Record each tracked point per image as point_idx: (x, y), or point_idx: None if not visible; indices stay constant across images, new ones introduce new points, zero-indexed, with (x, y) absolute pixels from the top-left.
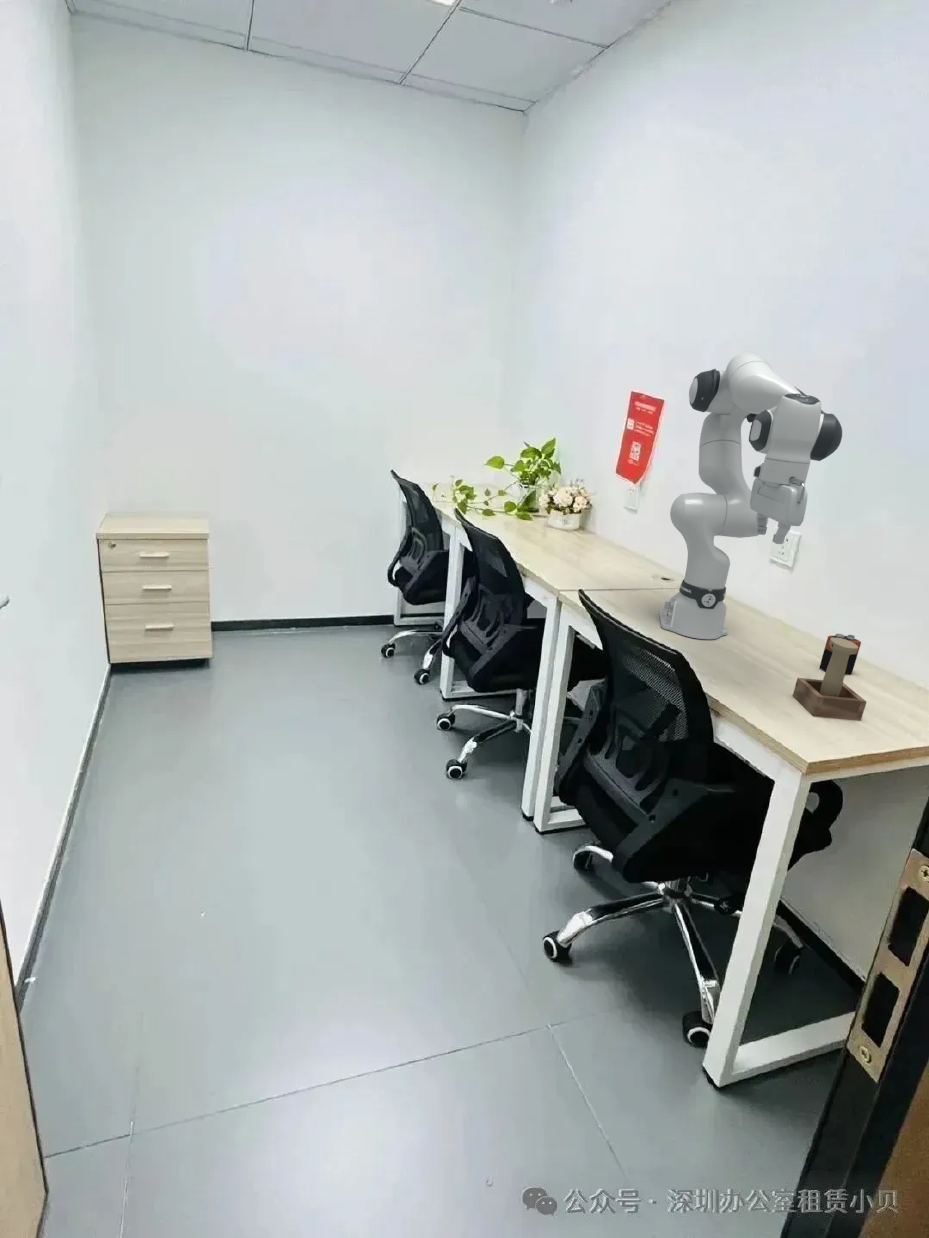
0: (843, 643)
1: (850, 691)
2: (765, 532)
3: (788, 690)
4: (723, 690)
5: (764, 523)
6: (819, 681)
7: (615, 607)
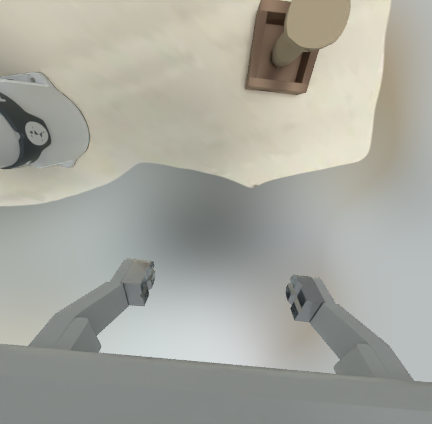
0: (319, 21)
1: None
2: (149, 267)
3: (230, 85)
4: (235, 169)
5: (109, 298)
6: (259, 51)
7: (23, 196)
